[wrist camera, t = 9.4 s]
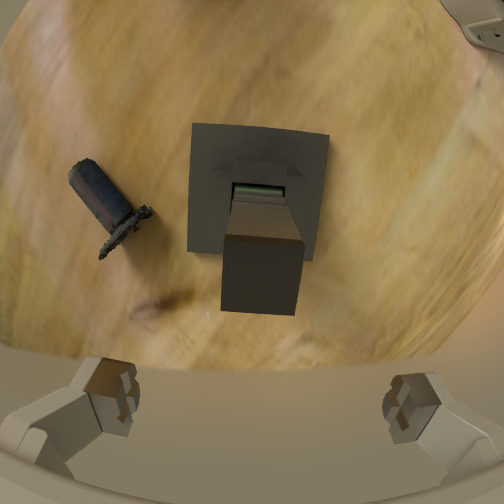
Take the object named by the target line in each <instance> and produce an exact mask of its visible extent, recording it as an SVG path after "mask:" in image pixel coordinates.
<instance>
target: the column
mask: <svg viewBox="0 0 504 504" xmlns="http://www.w3.org/2000/svg"><path fill="white" fill-rule="evenodd" d="M288 209H289V205H288V204H286V203H285V197H283V196H282V190H281V189H279V188H277V187H266V186H255V185H242V184H238V186H237V185H236V186H235V192H234V200H232V208H231V214H230V218H229V222H228V226H227V230H226V234H225V238H224V250H223V269H222V289H221V311H229V312H242V313H256V314H272V315H290V316H294V315H295V309H296V303H297V298H298V292H299V285H300V279H301V273H302V267H303V260H304V253H305V244H304V242H303V240H302V238H301V236H300V233H299V231H298V229H297V227H296V225H295V222H294V220H293V218H292V216H291V214H290V212H289V210H288Z"/></svg>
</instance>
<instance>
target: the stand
mask: <svg viewBox="0 0 504 504" xmlns="http://www.w3.org/2000/svg"><path fill="white" fill-rule="evenodd" d="M328 142H329V135H325V134H318V133H310V132H303V131H294V130H286V129H276V128H266V127H255V126H242V125H226V124H205V123H192V137H191V154H190V173H189V197H188V232H187V252H198V253H211V254H223V250H224V238H225V234H226V230H227V226H228V222H229V218H230V214H231V208H232V200H234V192H235V186H236V185H237V186H238V184H242V185H255V186H266V187H277V188H279V189H281V190H282V196H283V197H285V203H286V204H288V205H289V209H288V210H289V212H290V214H291V216H292V218H293V220H294V222H295V225H296V227H297V229H298V231H299V233H300V236H301V238H302V240H303V242H304V244H305V253H304V260H303V261H312V260H313V253H314V247H315V241H316V234H317V227H318V221H319V214H320V207H321V199H322V192H323V184H324V176H325V168H326V160H327V151H328Z"/></svg>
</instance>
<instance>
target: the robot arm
mask: <svg viewBox="0 0 504 504" xmlns="http://www.w3.org/2000/svg"><path fill="white" fill-rule="evenodd" d="M440 1H441V2H442V4H443V5H444V7H445V8H446V10H447V11H448V12H449V13H450V14H451V15H452V17H453V18H454V19H455V20H456V21H457V22H458V23H459V25H460V26H461V28H462V30H463V32H464V34H465V36H466V38H467V39H468V41H469V42H470V43H472V44H474V45H477V46H481V47H485V48H488V49H491V50H494V51H498V52H501V53H504V0H440ZM478 38H479V39H478ZM136 374H137V371H136V367H135V364H133V363H129V362H124V361H119V360H114V359H109V358H105V357H104V358H103V357H98V356H94V355H89V356H87V357H86V359H85V360H84V362H83V363H82V365H81V367H80V368H79V370H78V372H77V373H76V375H75V376H74V378H73V380H72V381H71V383H70V385H69V387H68V388H67V387H62V388H60V389H59V390H57V391H55V392H53V393H51V394H49V395H47V396H45V397H43V398H41V399H39V400H37V401H35V402H33V403H31V404H29V405H27V406H25V407H23V408H21V409H19V410H17V411H15V412H13V413H11V414H9V415H8V416H7V417H6V419H5V420H4V422H3V424H2V425H1V427H0V504H172V503H166V502H161V501H155V500H150V499H145V498H140V497H135V496H131V495H127V494H123V493H119V492H115V491H111V490H107V489H104V488H100V487H97V486H94V485H90V484H87V483H84V482H81V481H78V480H75V479H74V476H73V474H72V473H71V471H70V470H69V468H68V467H67V465H66V464H65V462H66V461H68V460H69V459H70V458H71V457H73V456H74V455H75V454H77V453H78V452H79V451H80V450H82V449H83V448H84V447H86V446H87V445H88V444H89V443H90V442H92V441H93V440H94V439H95V438H97V437H98V436H99V435H101V434H102V432H106V433H111V434H115V435H120V436H126V437H127V436H128V434H129V431H130V428H131V425H132V422H133V420H132V416H131V414H132V413H134V412H135V411H137V408H138V405H139V398H140V387H139V383H138V382H137V381H136V380H135V376H136ZM391 387H392V389H391V390H390V391H389V392H387V393H386V395H385V397H384V399H383V405H382V410H383V415H384V418H385V420H386V421H388V422H389V423H390V424H391V425H390V428H389V431H390V434H391V436H392V439H393V442H394V444H399V443H406V442H412V441H416V443H417V444H418V445H420V447H422V448H423V449H424V450H425V451H426V452H427V453H428V454H429V455H431V456H432V457H433V458H434V459H435V460H436V461H437V462H438V463H439V464H440V465H442V466H443V467H444V468H445V469H446V470H447V471H448V472H449V473H448V475H447V476H446V477H445V478H444V479H443V480H442V481H441V483H440V485H439V486H436V487H433V488H429V489H426V490H422V491H418V492H415V493H411V494H406V495H403V496H398V497H393V498H389V499H384V500H379V501H373V502H367V503H362V504H504V429H503V428H501V427H500V426H498V425H496V424H495V423H493V422H491V421H490V420H488V419H486V418H485V417H483V416H481V415H480V414H478V413H476V412H475V411H473V410H471V409H470V408H468V407H466V406H465V405H463V404H461V403H460V402H455V401H454V400H453V398H452V396H451V395H450V393H449V392H448V390H447V388H446V387H445V385H444V384H443V382H442V380H441V379H440V377H439V376H438V374H437V373H436V372H434V371H432V372H423V373H415V374H405V375H396V376H395V377H394V378H393V380H392V382H391Z"/></svg>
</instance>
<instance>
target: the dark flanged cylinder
mask: <svg viewBox="0 0 504 504" xmlns="http://www.w3.org/2000/svg"><path fill="white" fill-rule="evenodd" d="M68 178H69V183H70V185H71V186H72V187H73V189H74V190H75V191H76V193H77V194H78V195H79V197H80V198H81V199H82V200H83V202H84V203H85V204H86V206H87V207H88V208H89V209H90V210H91V212H92V213H93V214H94V215H95V217H96V218H97V219H98V220H99V222H100V223H101V224H102V225H103V227H104V228H105V229H106V230H107V231H108V233H110V234H111V235H112V236H111V238H110V240H107V241H108V242H107V244H106V243H104V247H103V248H102V249H101V250H100V255H99V257H98V258H99V261H100V260H102V259H104V258H105V257H106V256H107V254H108V253H109V251H112V250H113V249H115V247H116V246H117V245H120V242H122V241H123V239H124V238H125V237H126V236H127V235H128V234H127V231H128V230H131V228H132V227H133V228H135V225H136V224H138V221H139V219H144V218H149V217H150V216H152V215H153V214H152V208H150V207H149V208H147V207H145V205H143V207H140V209H139V210H137V211H135V213H134V212H132V206H131V205H130V204H129V203H128V202H127V201H126V199H125V198H124V197H123V196H122V195H121V193H120V192H119V191H118V190H117V188H116V187H115V186H114V185H113V184H112V182H111V181H110V180H109V179H108V177H107V176H106V175H105V174H104V172H103V171H102V170H101V169H100V167H99V166H98V165H97V164H96V163H95V161H93V160H91V159H88V158H86V159H84V160H82V161H78V163H77V164H76V165H74V166H73V167H72V170H70V172H69V175H68ZM142 208H143V209H142ZM135 214H136V215H135ZM146 216H147V217H146ZM138 229H140V228H138V227H137V228H136V229H135V231H134V232H136V231H137V230H138Z"/></svg>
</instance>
